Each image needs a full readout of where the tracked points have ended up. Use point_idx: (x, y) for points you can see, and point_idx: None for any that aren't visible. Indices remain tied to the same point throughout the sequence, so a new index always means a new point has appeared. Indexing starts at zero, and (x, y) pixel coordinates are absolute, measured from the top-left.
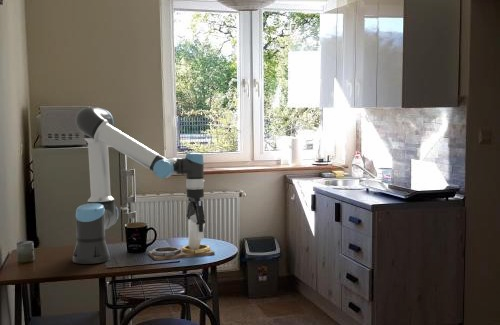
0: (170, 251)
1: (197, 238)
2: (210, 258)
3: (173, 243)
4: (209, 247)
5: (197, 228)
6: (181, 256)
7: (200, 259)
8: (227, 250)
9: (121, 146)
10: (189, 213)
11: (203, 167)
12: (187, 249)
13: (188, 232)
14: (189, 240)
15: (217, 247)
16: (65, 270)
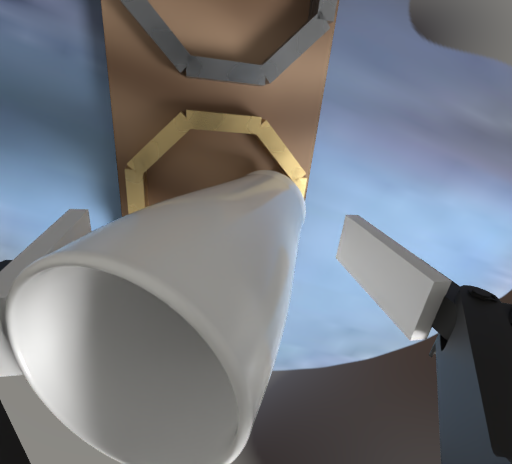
0: (267, 20)
1: (66, 213)
2: (37, 225)
3: (501, 161)
4: None
5: (9, 265)
6: (108, 52)
7: (21, 161)
8: None
9: None
10: (486, 355)
11: None
12: (166, 126)
13: (362, 219)
14: (240, 178)
15: (290, 319)
16: None
